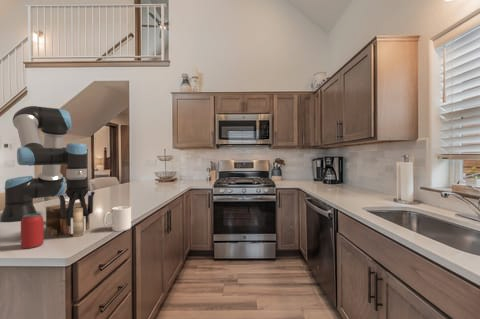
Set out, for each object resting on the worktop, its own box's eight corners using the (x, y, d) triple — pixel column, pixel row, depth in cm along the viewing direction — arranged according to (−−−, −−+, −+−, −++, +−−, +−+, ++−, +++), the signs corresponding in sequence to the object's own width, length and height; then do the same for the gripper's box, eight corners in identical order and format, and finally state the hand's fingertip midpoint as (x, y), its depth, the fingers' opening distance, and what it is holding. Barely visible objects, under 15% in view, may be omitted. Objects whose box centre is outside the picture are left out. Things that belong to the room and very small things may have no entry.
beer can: (29, 243, 97) (29, 213, 97) (47, 242, 98) (47, 212, 97) (16, 249, 90) (15, 217, 90) (35, 248, 91) (34, 216, 91)
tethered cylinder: (60, 231, 112) (60, 205, 112) (75, 228, 117) (75, 203, 117) (71, 238, 103) (71, 209, 103) (86, 234, 108) (86, 207, 108)
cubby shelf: (46, 231, 112) (45, 206, 112) (80, 225, 123) (80, 202, 123) (53, 236, 105) (53, 209, 105) (89, 229, 116) (89, 204, 116)
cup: (133, 229, 116) (133, 208, 116) (104, 234, 108) (104, 211, 108) (128, 225, 122) (128, 205, 122) (101, 229, 115) (101, 208, 115)
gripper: (55, 180, 98) (56, 238, 98) (101, 177, 111) (101, 228, 111) (50, 179, 102) (50, 235, 102) (94, 176, 116) (95, 225, 116)
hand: (77, 231), depth 107 cm, fingers closed on tethered cylinder, 4 cm apart
